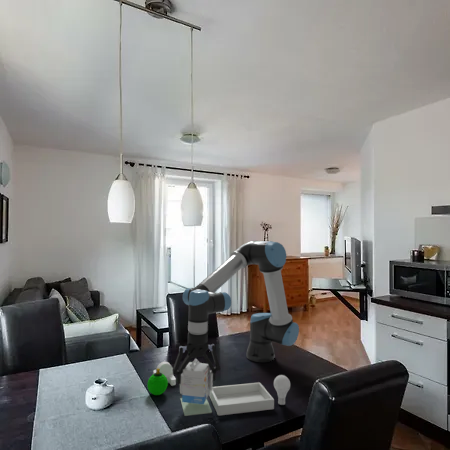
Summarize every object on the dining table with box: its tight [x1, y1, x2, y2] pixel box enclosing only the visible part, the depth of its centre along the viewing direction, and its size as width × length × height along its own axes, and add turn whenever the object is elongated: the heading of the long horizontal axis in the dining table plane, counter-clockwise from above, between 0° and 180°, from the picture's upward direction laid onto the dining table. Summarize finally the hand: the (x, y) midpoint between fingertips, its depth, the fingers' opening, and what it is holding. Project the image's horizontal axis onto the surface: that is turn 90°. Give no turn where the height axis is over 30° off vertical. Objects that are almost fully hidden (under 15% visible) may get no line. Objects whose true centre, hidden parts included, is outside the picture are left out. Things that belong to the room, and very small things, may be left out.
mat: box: [179, 397, 213, 417], centre depth 123 cm, size 10×12×1 cm
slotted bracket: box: [152, 361, 177, 387], centre depth 144 cm, size 13×7×8 cm, turn 26°
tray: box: [208, 381, 275, 416], centre depth 127 cm, size 22×15×4 cm
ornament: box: [146, 368, 169, 396], centre depth 131 cm, size 8×8×10 cm
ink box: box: [181, 358, 211, 404], centre depth 123 cm, size 9×8×13 cm
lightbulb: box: [273, 374, 291, 406], centre depth 126 cm, size 6×6×11 cm
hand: (196, 390), depth 123 cm, fingers closed on ink box, 11 cm apart
